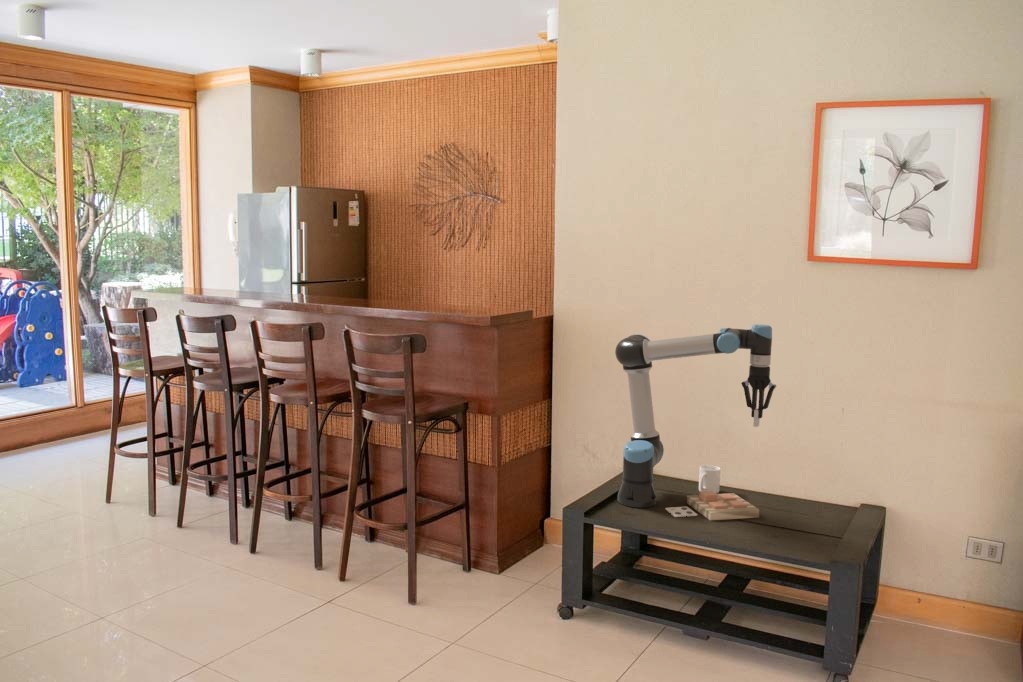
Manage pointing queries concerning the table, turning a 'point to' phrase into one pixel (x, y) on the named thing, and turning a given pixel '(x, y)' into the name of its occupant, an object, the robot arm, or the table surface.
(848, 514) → the table surface
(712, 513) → the board
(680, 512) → the card
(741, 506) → the button
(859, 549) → the table surface
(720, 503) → the button
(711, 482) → the cup
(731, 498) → the button
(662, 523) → the table surface
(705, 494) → the button
